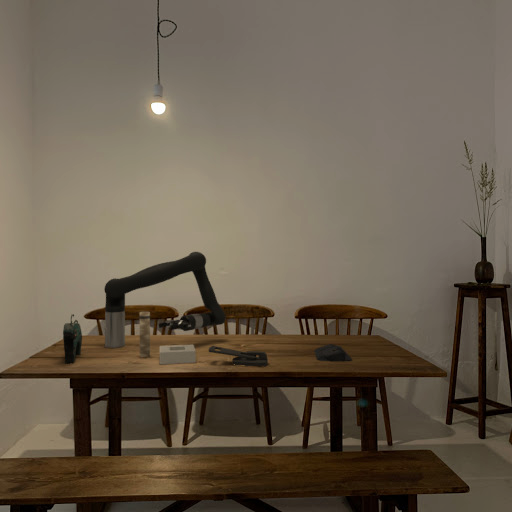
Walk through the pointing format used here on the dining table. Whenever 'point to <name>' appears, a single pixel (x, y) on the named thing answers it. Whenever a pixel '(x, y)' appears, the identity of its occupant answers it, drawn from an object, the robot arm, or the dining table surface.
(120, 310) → the robot arm
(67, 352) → the ceramic cat
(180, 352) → the well block
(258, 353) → the zipper pull
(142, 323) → the beech dowel
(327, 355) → the dark slate chunk
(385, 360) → the dining table surface
